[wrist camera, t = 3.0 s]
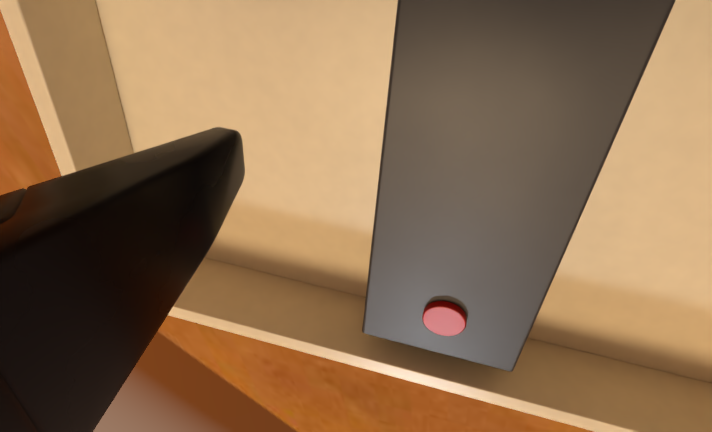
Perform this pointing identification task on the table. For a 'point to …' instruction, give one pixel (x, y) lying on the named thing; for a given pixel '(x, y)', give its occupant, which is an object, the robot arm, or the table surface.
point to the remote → (493, 161)
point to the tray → (359, 191)
